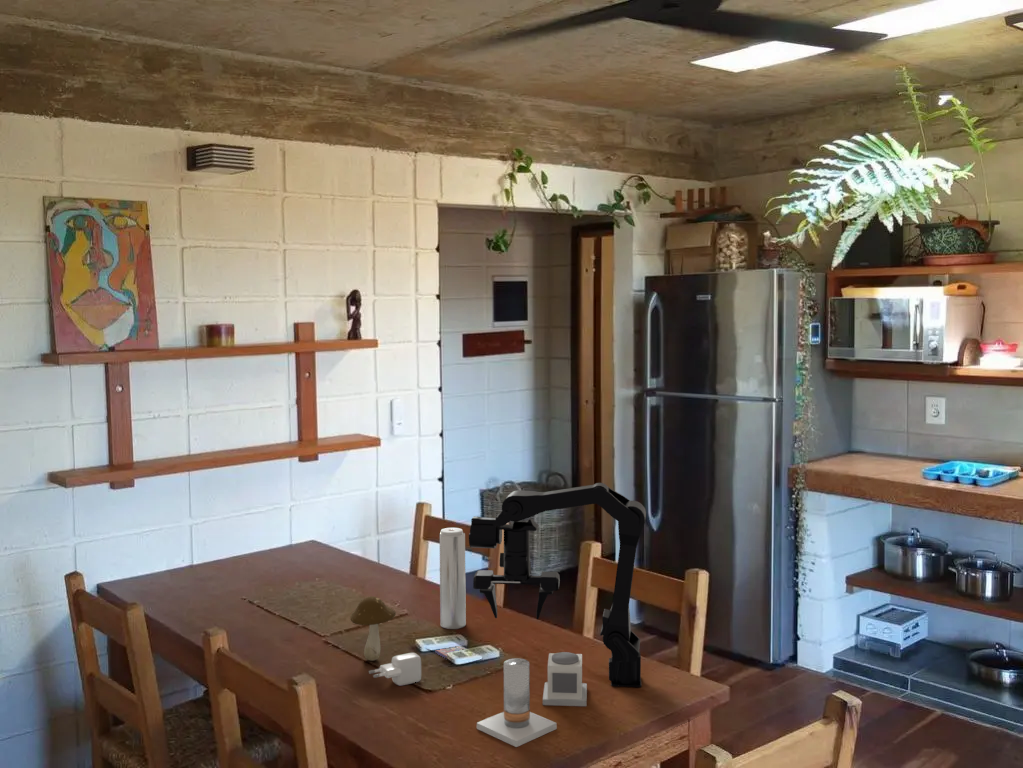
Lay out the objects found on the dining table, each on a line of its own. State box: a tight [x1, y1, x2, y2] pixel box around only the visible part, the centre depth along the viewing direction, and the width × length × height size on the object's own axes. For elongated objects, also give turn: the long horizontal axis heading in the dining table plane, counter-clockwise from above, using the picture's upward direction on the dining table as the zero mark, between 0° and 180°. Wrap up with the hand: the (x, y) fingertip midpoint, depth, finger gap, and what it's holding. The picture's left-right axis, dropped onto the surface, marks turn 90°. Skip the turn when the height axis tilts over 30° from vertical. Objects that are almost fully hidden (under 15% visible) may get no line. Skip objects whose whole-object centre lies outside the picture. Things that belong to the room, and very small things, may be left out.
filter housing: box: [542, 651, 588, 707], centre depth 204 cm, size 9×9×9 cm
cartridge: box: [503, 657, 531, 728], centre depth 188 cm, size 5×5×12 cm
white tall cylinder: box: [439, 527, 467, 630], centre depth 248 cm, size 6×6×25 cm
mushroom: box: [349, 595, 397, 662], centre depth 225 cm, size 9×11×15 cm
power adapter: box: [368, 652, 422, 686], centre depth 211 cm, size 11×5×6 cm, turn 120°
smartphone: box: [435, 645, 469, 659], centre depth 230 cm, size 1×7×15 cm
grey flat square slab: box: [476, 711, 558, 748], centre depth 189 cm, size 11×11×1 cm
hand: (516, 618), depth 215 cm, fingers open, 9 cm apart
